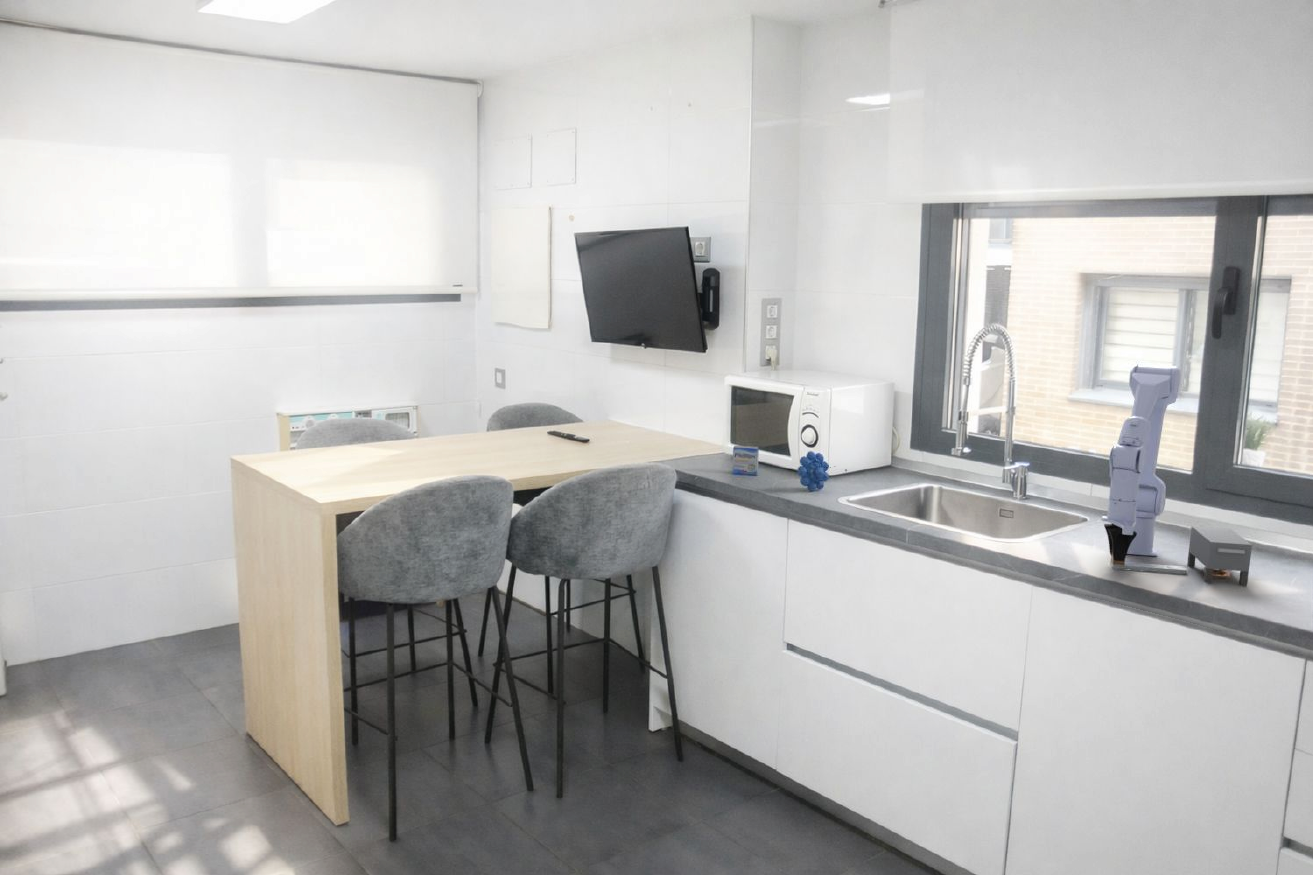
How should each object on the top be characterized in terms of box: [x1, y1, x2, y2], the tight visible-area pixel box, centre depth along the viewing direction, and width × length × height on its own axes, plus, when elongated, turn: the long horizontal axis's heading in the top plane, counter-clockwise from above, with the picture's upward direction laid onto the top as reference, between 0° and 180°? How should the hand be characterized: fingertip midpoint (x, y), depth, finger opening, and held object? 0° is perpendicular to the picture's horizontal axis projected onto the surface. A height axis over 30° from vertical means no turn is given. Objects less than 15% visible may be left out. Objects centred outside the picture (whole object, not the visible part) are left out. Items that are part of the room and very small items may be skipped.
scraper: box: [1109, 552, 1188, 576], centre depth 228 cm, size 3×15×6 cm, turn 78°
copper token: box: [1202, 566, 1231, 580], centre depth 226 cm, size 5×5×2 cm
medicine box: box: [731, 445, 760, 477], centre depth 324 cm, size 8×4×9 cm, turn 80°
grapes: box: [796, 450, 830, 492], centre depth 299 cm, size 12×7×12 cm, turn 123°
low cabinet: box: [1186, 525, 1253, 587], centre depth 225 cm, size 15×8×9 cm, turn 168°
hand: (1117, 558), depth 230 cm, fingers closed on scraper, 2 cm apart
